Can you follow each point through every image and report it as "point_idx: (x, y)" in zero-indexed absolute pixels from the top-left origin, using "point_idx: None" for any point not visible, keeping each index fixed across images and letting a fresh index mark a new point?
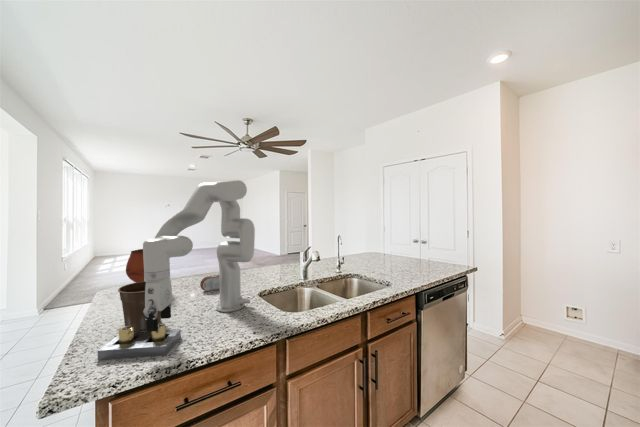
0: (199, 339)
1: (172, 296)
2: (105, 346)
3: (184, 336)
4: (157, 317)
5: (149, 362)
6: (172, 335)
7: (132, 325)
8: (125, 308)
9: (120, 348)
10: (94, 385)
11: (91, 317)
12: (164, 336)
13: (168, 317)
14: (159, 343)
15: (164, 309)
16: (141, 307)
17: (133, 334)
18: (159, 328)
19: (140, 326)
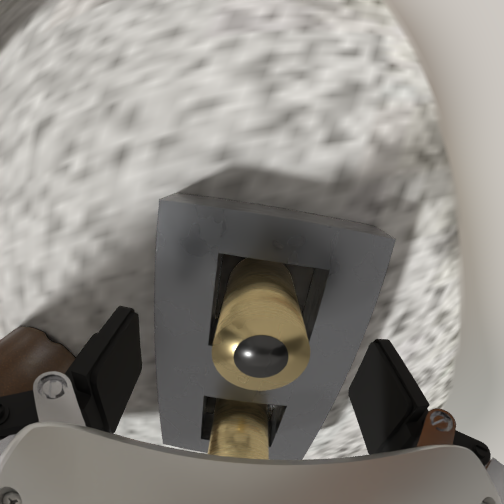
0: (240, 75)
1: (2, 472)
2: (275, 455)
3: (169, 172)
4: (30, 353)
5: (405, 281)
6: (253, 231)
7: None
8: None
9: (319, 419)
10: (443, 378)
11: None
12: (272, 279)
13: (136, 323)
14: (348, 283)
15: (111, 404)
16: None
17: (232, 424)
18: (306, 339)
19: None
